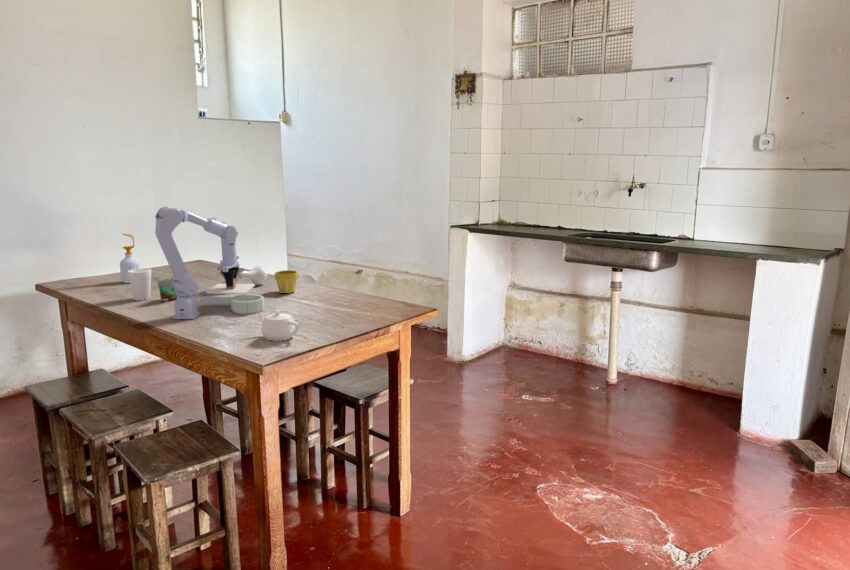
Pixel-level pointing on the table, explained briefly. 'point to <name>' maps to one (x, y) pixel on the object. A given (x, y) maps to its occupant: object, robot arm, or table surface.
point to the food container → (167, 290)
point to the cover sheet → (230, 288)
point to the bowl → (247, 304)
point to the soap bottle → (128, 263)
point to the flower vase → (249, 274)
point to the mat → (215, 302)
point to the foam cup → (140, 283)
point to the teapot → (278, 326)
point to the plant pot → (286, 280)
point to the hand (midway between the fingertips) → (231, 285)
